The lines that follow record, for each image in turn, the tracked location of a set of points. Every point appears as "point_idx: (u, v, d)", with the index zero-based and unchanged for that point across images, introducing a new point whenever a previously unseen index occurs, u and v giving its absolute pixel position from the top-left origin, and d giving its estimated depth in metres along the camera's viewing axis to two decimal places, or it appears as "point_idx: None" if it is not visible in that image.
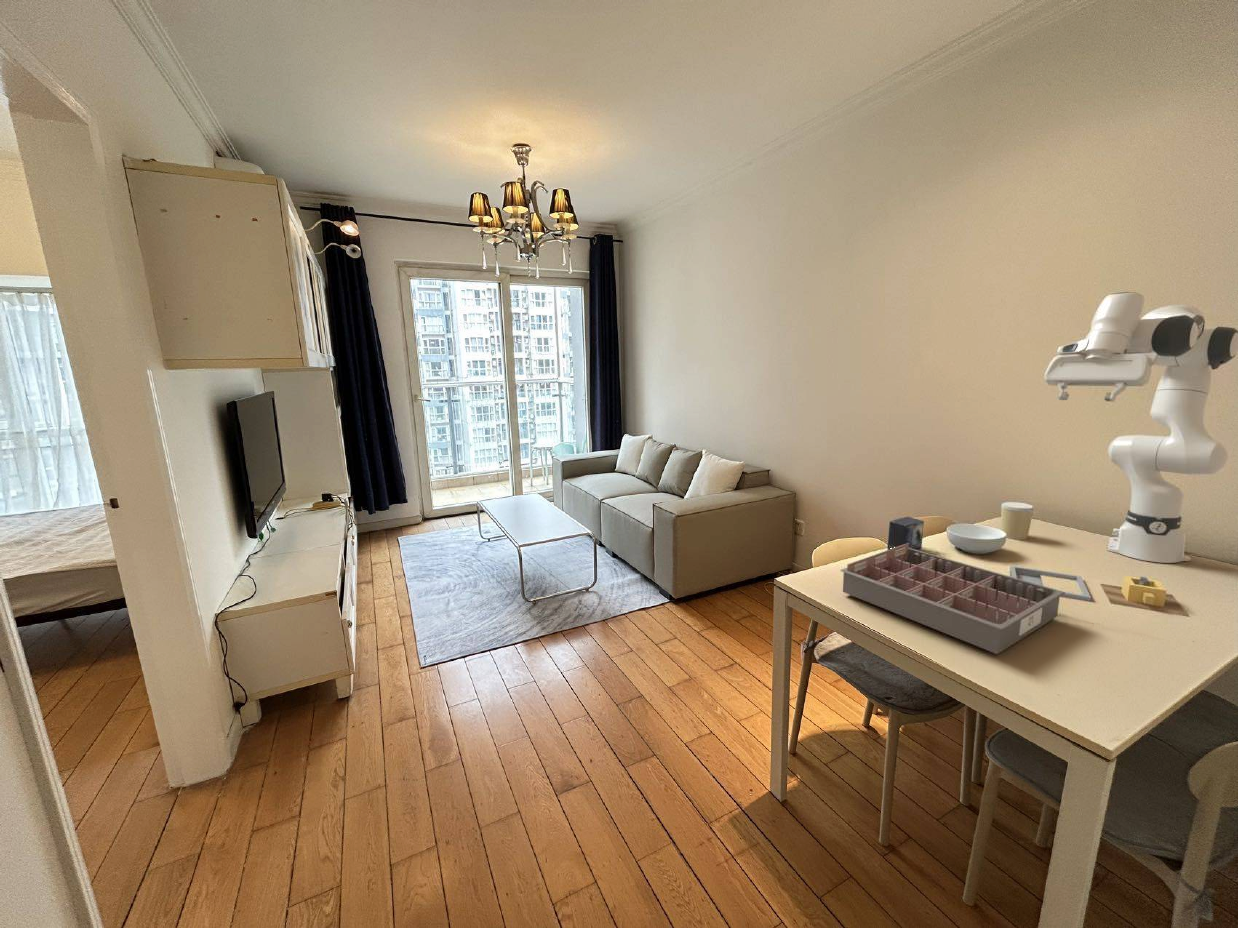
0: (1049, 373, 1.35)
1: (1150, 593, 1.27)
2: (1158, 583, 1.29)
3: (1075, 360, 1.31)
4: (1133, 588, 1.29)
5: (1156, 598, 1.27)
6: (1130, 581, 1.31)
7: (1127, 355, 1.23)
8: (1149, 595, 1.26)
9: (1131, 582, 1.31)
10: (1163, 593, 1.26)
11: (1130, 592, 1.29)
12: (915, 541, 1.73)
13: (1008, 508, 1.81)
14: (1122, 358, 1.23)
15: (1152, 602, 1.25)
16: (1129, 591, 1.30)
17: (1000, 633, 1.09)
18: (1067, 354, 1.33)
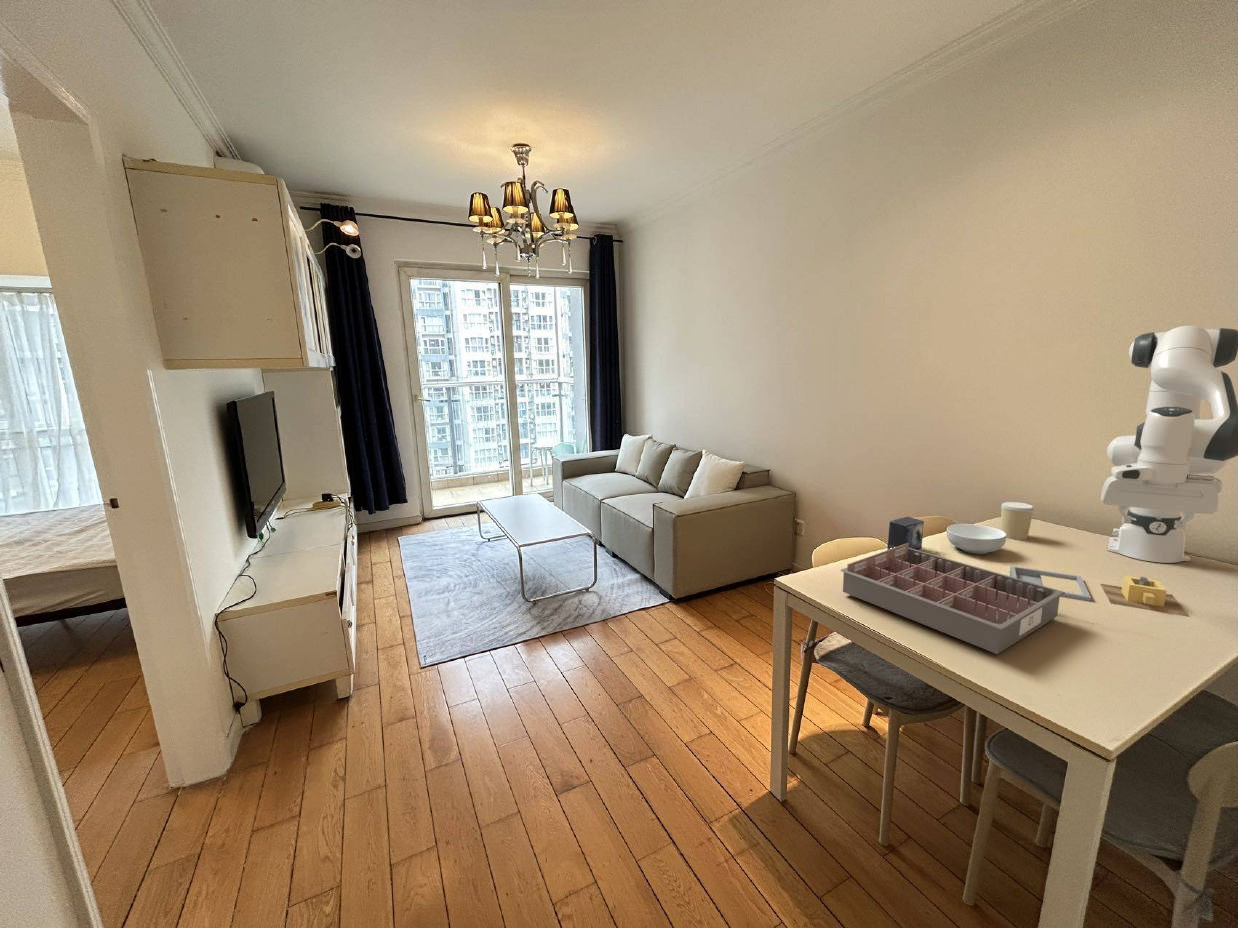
0: (1109, 498, 1.30)
1: (1150, 593, 1.27)
2: (1158, 583, 1.29)
3: (1136, 485, 1.26)
4: (1133, 588, 1.29)
5: (1156, 598, 1.27)
6: (1130, 581, 1.31)
7: (1194, 485, 1.20)
8: (1149, 595, 1.26)
9: (1131, 582, 1.31)
10: (1163, 593, 1.26)
11: (1130, 592, 1.29)
12: (915, 541, 1.73)
13: (1008, 508, 1.81)
14: (1189, 488, 1.21)
15: (1152, 602, 1.25)
16: (1129, 591, 1.30)
17: (1000, 633, 1.09)
18: (1128, 479, 1.27)
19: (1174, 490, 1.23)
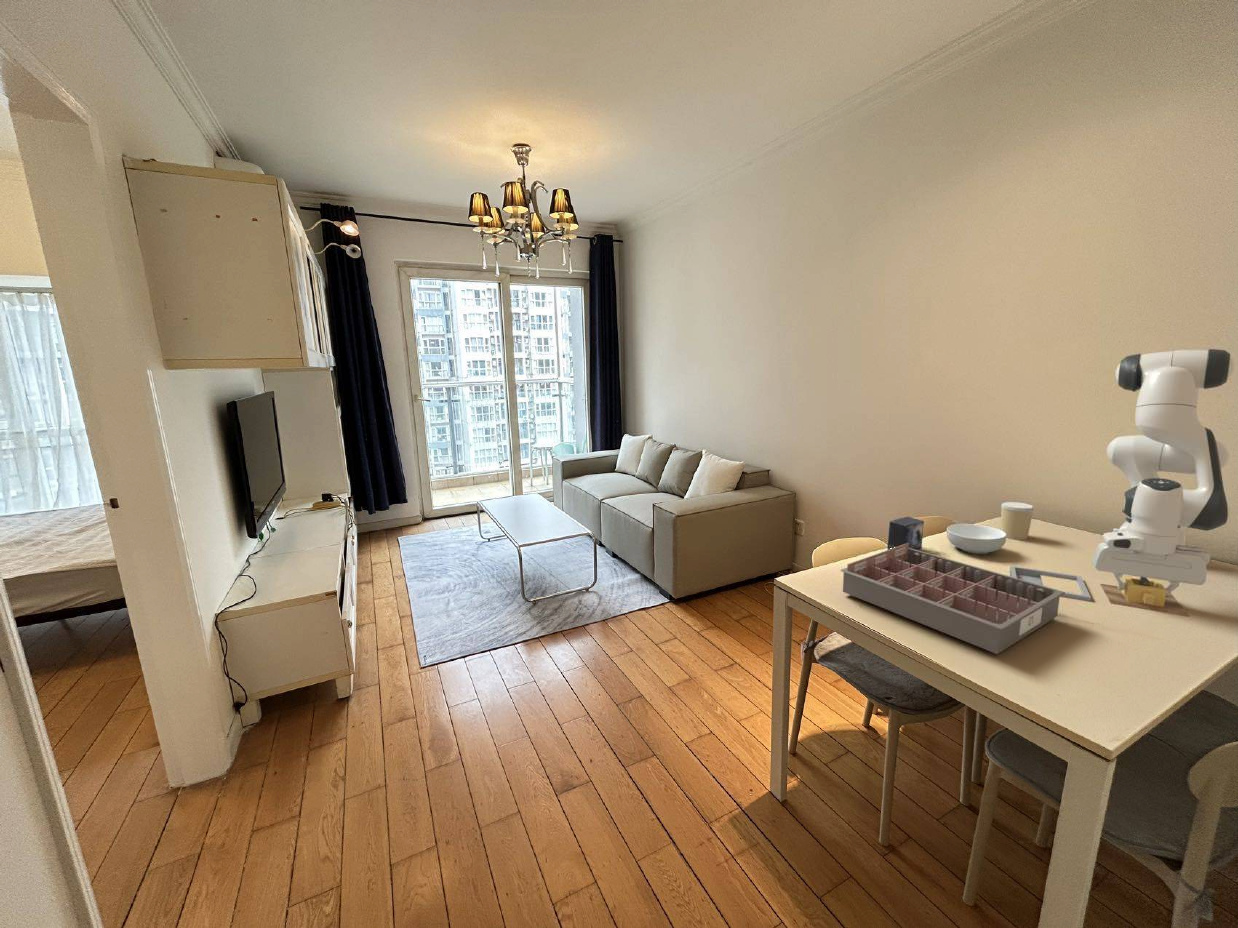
0: (1101, 564, 1.33)
1: (1150, 593, 1.27)
2: (1158, 583, 1.29)
3: (1127, 554, 1.30)
4: (1133, 588, 1.29)
5: (1156, 598, 1.27)
6: (1130, 581, 1.31)
7: (1183, 557, 1.24)
8: (1149, 595, 1.26)
9: (1131, 582, 1.31)
10: (1163, 593, 1.26)
11: (1130, 592, 1.29)
12: (915, 541, 1.73)
13: (1008, 508, 1.81)
14: (1179, 559, 1.24)
15: (1152, 602, 1.25)
16: (1129, 591, 1.30)
17: (1000, 633, 1.09)
18: (1119, 548, 1.30)
19: (1164, 560, 1.26)
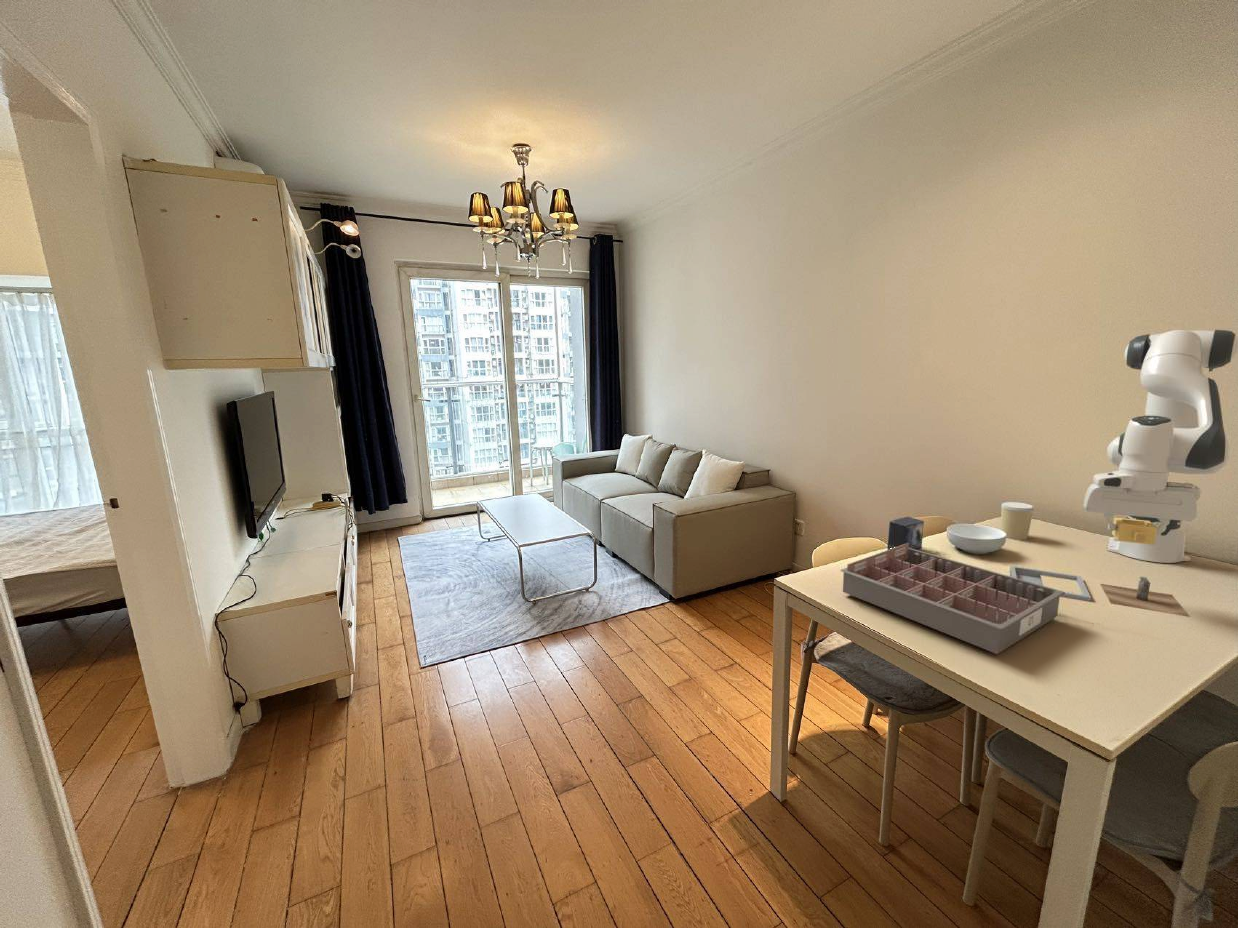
0: (1092, 505, 1.32)
1: (1141, 531, 1.26)
2: (1149, 522, 1.28)
3: (1118, 493, 1.28)
4: (1124, 527, 1.28)
5: (1147, 536, 1.26)
6: (1121, 521, 1.30)
7: (1174, 493, 1.23)
8: (1140, 533, 1.25)
9: (1122, 522, 1.29)
10: (1154, 531, 1.25)
11: (1121, 531, 1.28)
12: (915, 541, 1.73)
13: (1008, 508, 1.81)
14: (1169, 496, 1.23)
15: (1143, 539, 1.24)
16: (1120, 530, 1.28)
17: (1000, 633, 1.09)
18: (1109, 487, 1.29)
19: (1154, 497, 1.25)
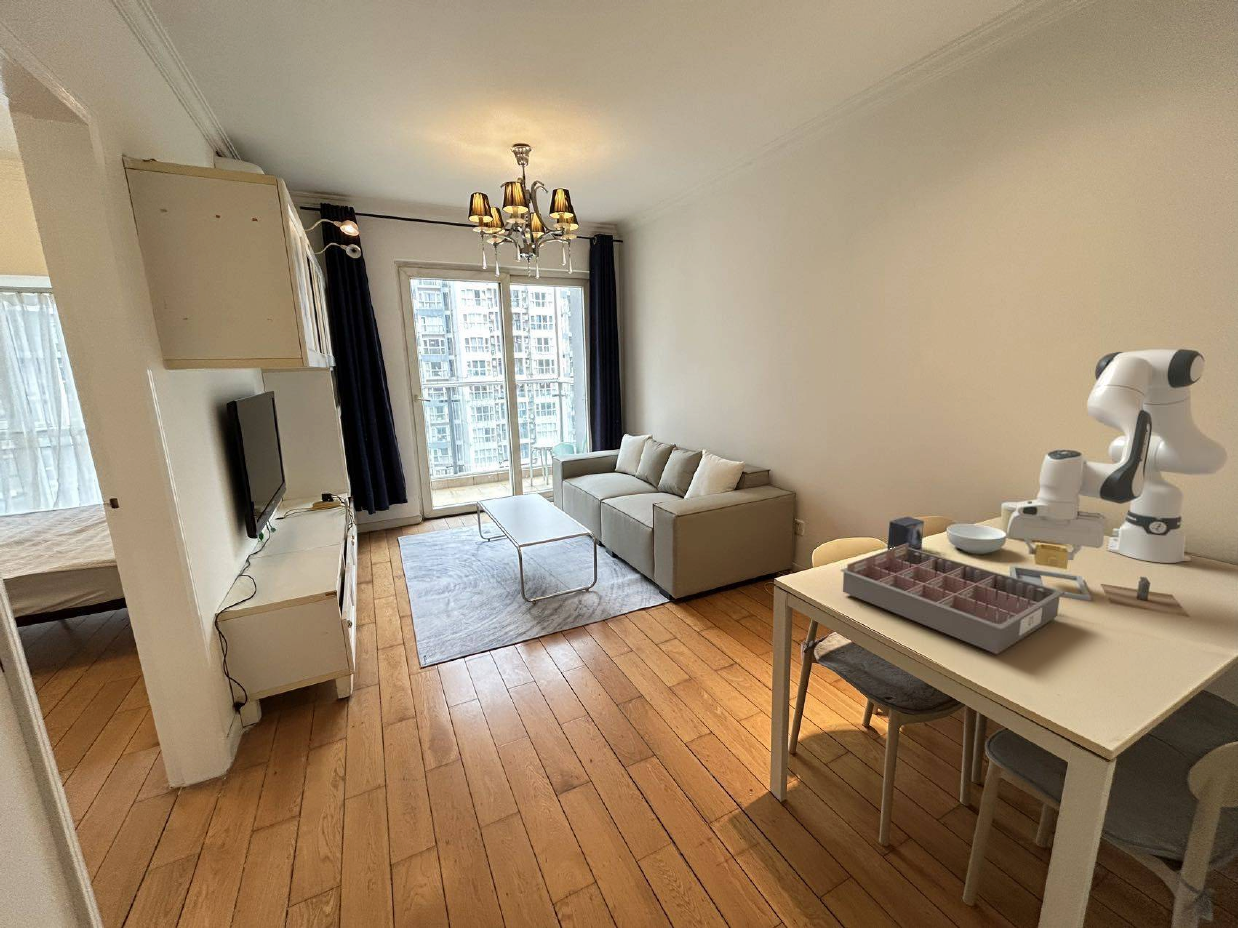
0: (1013, 530, 1.42)
1: (1054, 556, 1.36)
2: (1064, 548, 1.39)
3: (1035, 520, 1.39)
4: (1040, 552, 1.39)
5: (1060, 561, 1.36)
6: (1039, 546, 1.41)
7: (1083, 522, 1.33)
8: (1053, 558, 1.35)
9: (1039, 547, 1.40)
10: (1066, 556, 1.35)
11: (1038, 556, 1.39)
12: (915, 541, 1.73)
13: (1008, 508, 1.81)
14: (1079, 524, 1.34)
15: (1055, 564, 1.35)
16: (1037, 555, 1.39)
17: (1000, 633, 1.09)
18: (1028, 514, 1.39)
19: (1067, 525, 1.36)
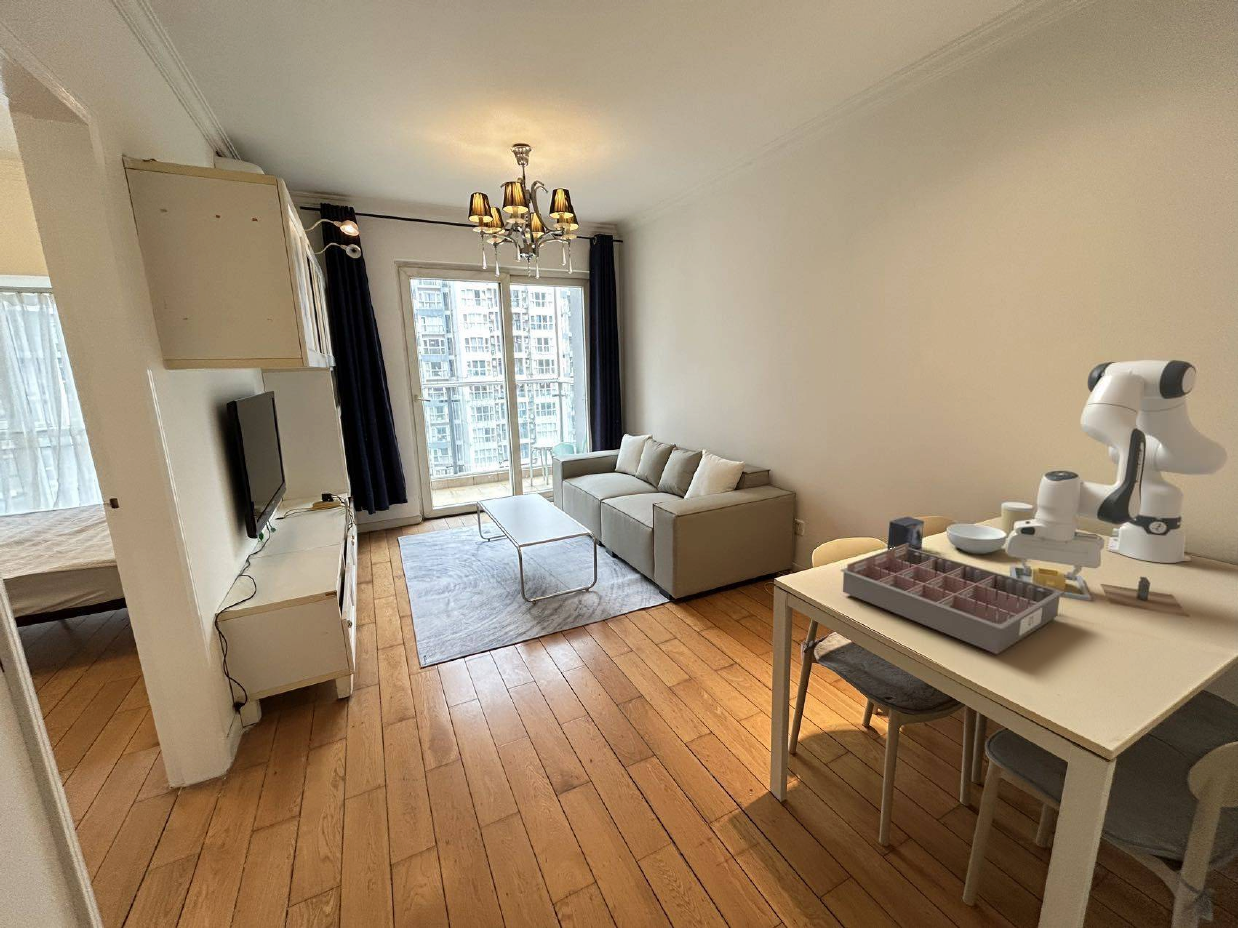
0: (1011, 550, 1.44)
1: (1052, 581, 1.38)
2: (1061, 572, 1.40)
3: (1033, 540, 1.40)
4: (1038, 577, 1.40)
5: (1057, 586, 1.38)
6: (1036, 570, 1.42)
7: (1081, 542, 1.35)
8: (1050, 583, 1.37)
9: (1037, 571, 1.42)
10: (1063, 581, 1.37)
11: (1035, 580, 1.40)
12: (915, 541, 1.73)
13: (1008, 508, 1.81)
14: (1077, 545, 1.35)
15: None
16: (1034, 579, 1.41)
17: (1000, 633, 1.09)
18: (1025, 535, 1.41)
19: (1064, 546, 1.37)
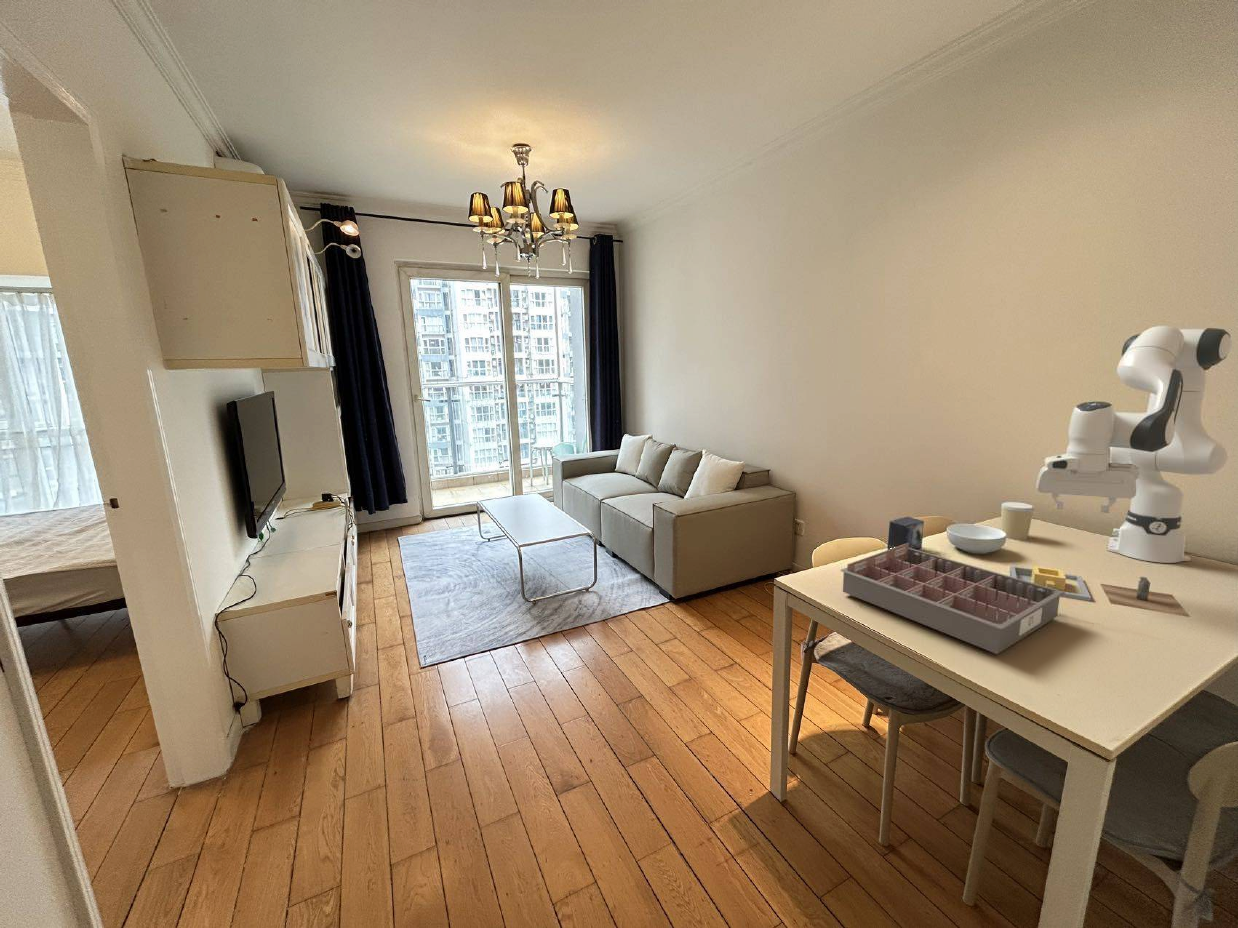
0: (1042, 486, 1.41)
1: (1052, 581, 1.38)
2: (1061, 572, 1.40)
3: (1065, 474, 1.38)
4: (1038, 577, 1.40)
5: (1057, 586, 1.38)
6: (1036, 570, 1.42)
7: (1115, 473, 1.32)
8: (1050, 583, 1.37)
9: (1037, 571, 1.42)
10: (1063, 581, 1.37)
11: (1035, 580, 1.40)
12: (915, 541, 1.73)
13: (1008, 508, 1.81)
14: (1111, 475, 1.33)
15: None
16: (1034, 579, 1.41)
17: (1000, 633, 1.09)
18: (1057, 469, 1.38)
19: (1098, 478, 1.35)
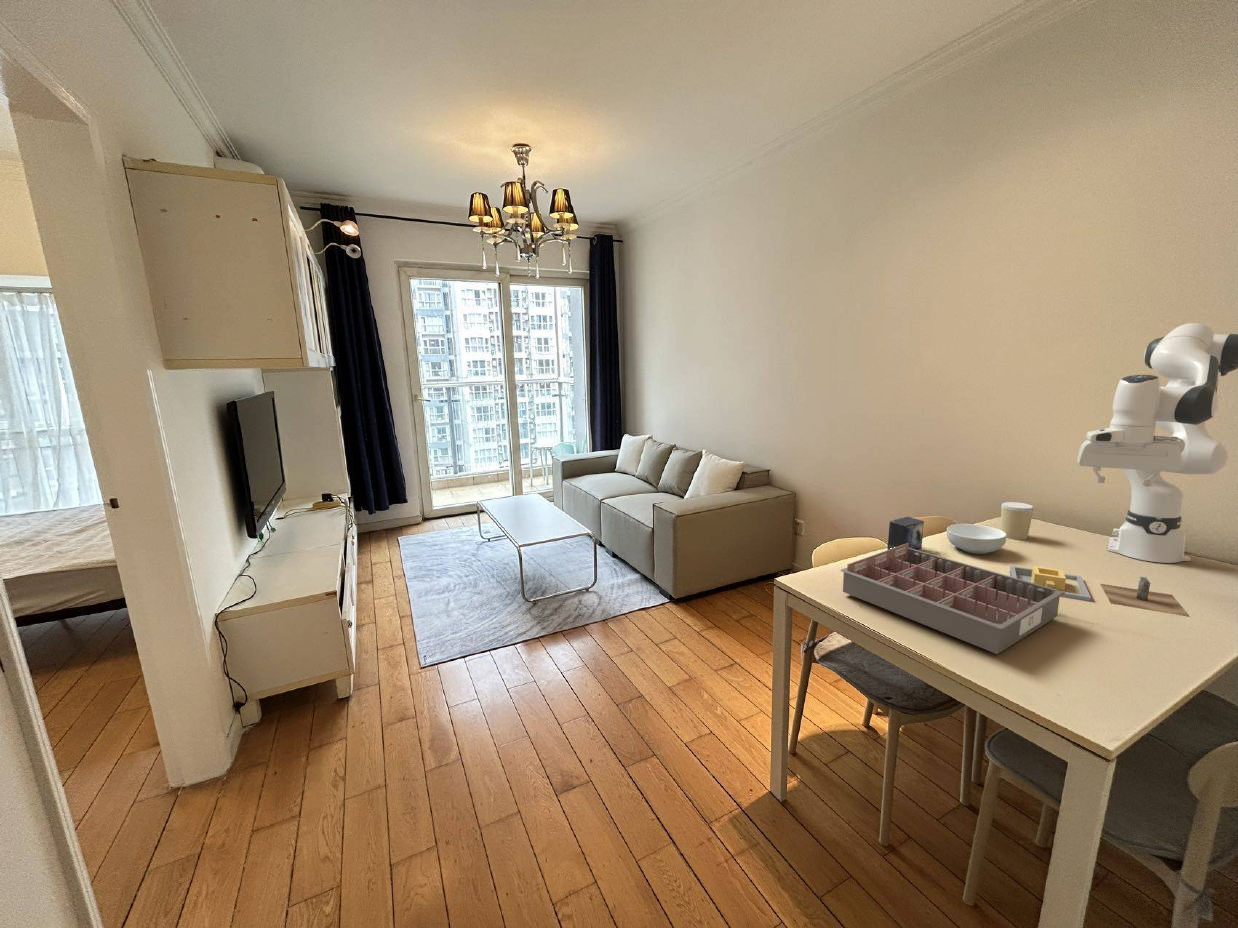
0: (1084, 459, 1.42)
1: (1052, 581, 1.38)
2: (1061, 572, 1.40)
3: (1108, 447, 1.38)
4: (1038, 577, 1.40)
5: (1057, 586, 1.38)
6: (1036, 570, 1.42)
7: (1160, 445, 1.33)
8: (1050, 583, 1.37)
9: (1037, 571, 1.42)
10: (1063, 581, 1.37)
11: (1035, 580, 1.40)
12: (915, 541, 1.73)
13: (1008, 508, 1.81)
14: (1156, 448, 1.33)
15: None
16: (1034, 579, 1.41)
17: (1000, 633, 1.09)
18: (1101, 442, 1.38)
19: (1142, 450, 1.35)
